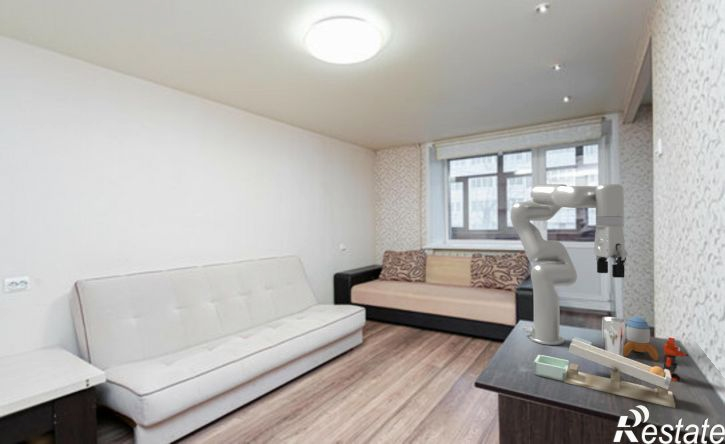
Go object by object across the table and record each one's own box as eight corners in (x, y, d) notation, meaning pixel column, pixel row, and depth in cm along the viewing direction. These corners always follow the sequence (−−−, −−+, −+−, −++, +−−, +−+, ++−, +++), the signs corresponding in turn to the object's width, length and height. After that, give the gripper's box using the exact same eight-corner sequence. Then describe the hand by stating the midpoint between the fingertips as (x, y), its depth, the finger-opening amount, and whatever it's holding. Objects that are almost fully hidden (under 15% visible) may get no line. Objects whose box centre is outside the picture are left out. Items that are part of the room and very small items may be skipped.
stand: (563, 382, 110) (563, 357, 110) (567, 371, 118) (567, 348, 118) (675, 408, 94) (675, 380, 94) (671, 393, 102) (671, 367, 102)
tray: (533, 374, 116) (533, 362, 116) (538, 366, 122) (538, 354, 122) (565, 381, 110) (565, 368, 110) (568, 372, 117) (568, 360, 117)
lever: (566, 357, 111) (570, 341, 110) (572, 343, 122) (576, 329, 122) (666, 395, 97) (671, 378, 96) (661, 376, 109) (666, 360, 108)
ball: (649, 377, 100) (651, 366, 100) (648, 373, 103) (651, 362, 102) (664, 382, 98) (666, 371, 98) (663, 378, 101) (665, 367, 100)
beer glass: (630, 366, 121) (630, 322, 121) (607, 365, 122) (607, 321, 122) (619, 358, 128) (619, 316, 128) (598, 357, 129) (598, 316, 129)
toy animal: (686, 386, 107) (686, 346, 107) (662, 380, 111) (662, 341, 111) (688, 377, 112) (689, 339, 112) (666, 372, 116) (666, 335, 116)
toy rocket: (626, 351, 137) (637, 314, 136) (660, 365, 128) (671, 325, 127) (615, 353, 132) (625, 314, 130) (649, 368, 123) (661, 326, 122)
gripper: (584, 222, 126) (585, 271, 126) (610, 222, 109) (611, 279, 108) (608, 222, 124) (608, 271, 124) (638, 222, 107) (639, 279, 107)
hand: (610, 275), depth 116 cm, fingers open, 9 cm apart
